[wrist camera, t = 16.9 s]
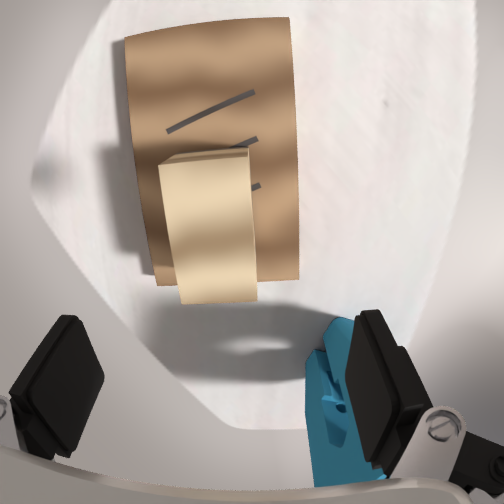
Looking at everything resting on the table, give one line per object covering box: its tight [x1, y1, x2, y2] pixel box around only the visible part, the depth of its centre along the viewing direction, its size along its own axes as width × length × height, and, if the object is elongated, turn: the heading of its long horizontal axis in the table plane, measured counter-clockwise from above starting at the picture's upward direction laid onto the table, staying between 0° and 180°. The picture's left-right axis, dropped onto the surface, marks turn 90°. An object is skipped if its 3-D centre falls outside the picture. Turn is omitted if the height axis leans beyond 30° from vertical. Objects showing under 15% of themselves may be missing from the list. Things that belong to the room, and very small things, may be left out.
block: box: [305, 317, 386, 487], centre depth 28 cm, size 12×5×20 cm, turn 159°
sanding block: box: [158, 147, 257, 304], centre depth 26 cm, size 11×6×6 cm, turn 4°
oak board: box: [125, 17, 299, 286], centre depth 27 cm, size 24×14×2 cm, turn 4°
